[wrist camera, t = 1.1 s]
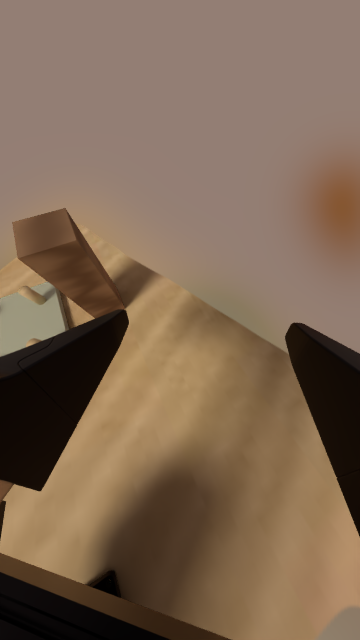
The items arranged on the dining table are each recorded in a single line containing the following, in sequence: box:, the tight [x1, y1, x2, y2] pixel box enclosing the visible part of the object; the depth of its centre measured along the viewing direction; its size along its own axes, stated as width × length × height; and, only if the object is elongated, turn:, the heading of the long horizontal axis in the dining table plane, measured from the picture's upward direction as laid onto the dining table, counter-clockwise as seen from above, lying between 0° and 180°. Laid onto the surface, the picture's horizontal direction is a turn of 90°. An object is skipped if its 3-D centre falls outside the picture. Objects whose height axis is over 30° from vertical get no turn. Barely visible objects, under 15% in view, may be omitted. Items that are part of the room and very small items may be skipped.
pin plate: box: [0, 282, 69, 357], centre depth 21 cm, size 13×15×4 cm
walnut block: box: [12, 208, 125, 319], centre depth 19 cm, size 4×4×13 cm
